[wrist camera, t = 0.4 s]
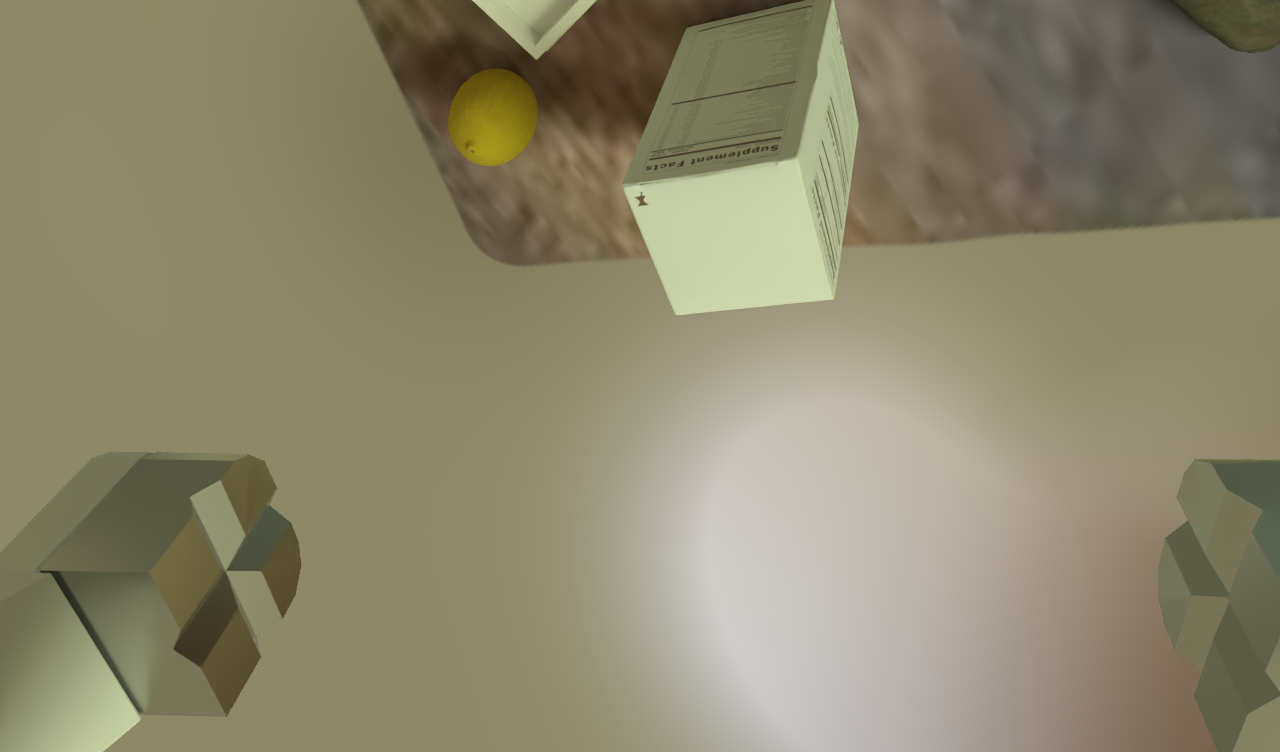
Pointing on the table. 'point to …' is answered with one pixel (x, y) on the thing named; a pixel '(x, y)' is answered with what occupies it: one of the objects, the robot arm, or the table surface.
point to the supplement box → (749, 161)
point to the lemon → (493, 117)
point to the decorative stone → (1237, 21)
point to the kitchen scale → (535, 20)
